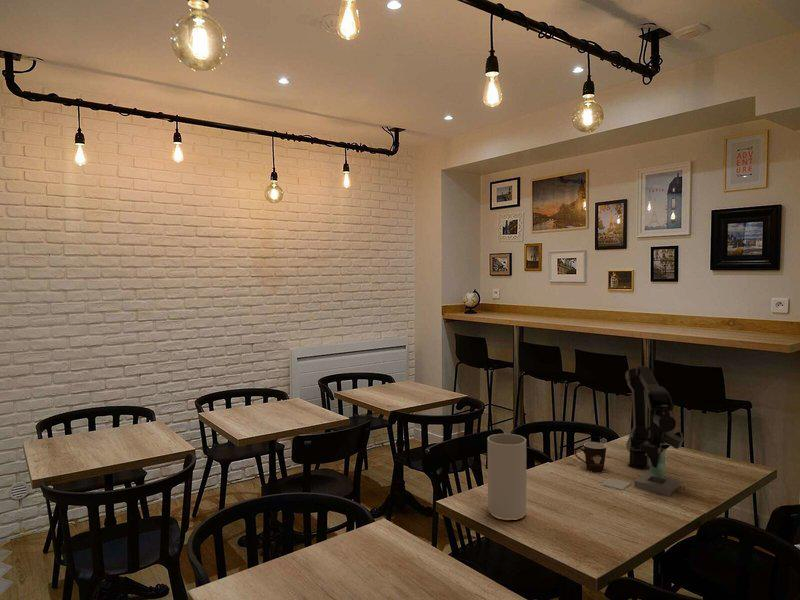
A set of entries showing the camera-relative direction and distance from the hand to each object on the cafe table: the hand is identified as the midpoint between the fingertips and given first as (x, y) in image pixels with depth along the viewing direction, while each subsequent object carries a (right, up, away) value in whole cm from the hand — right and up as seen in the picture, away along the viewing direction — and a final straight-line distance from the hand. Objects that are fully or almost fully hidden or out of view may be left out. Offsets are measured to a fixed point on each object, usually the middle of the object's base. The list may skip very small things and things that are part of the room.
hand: (657, 465), depth 202 cm
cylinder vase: (-59, -10, -21) cm, 64 cm away
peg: (0, -4, 0) cm, 4 cm away
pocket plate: (0, -8, 0) cm, 8 cm away
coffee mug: (-18, -8, +20) cm, 27 cm away
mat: (-14, -8, +3) cm, 16 cm away
